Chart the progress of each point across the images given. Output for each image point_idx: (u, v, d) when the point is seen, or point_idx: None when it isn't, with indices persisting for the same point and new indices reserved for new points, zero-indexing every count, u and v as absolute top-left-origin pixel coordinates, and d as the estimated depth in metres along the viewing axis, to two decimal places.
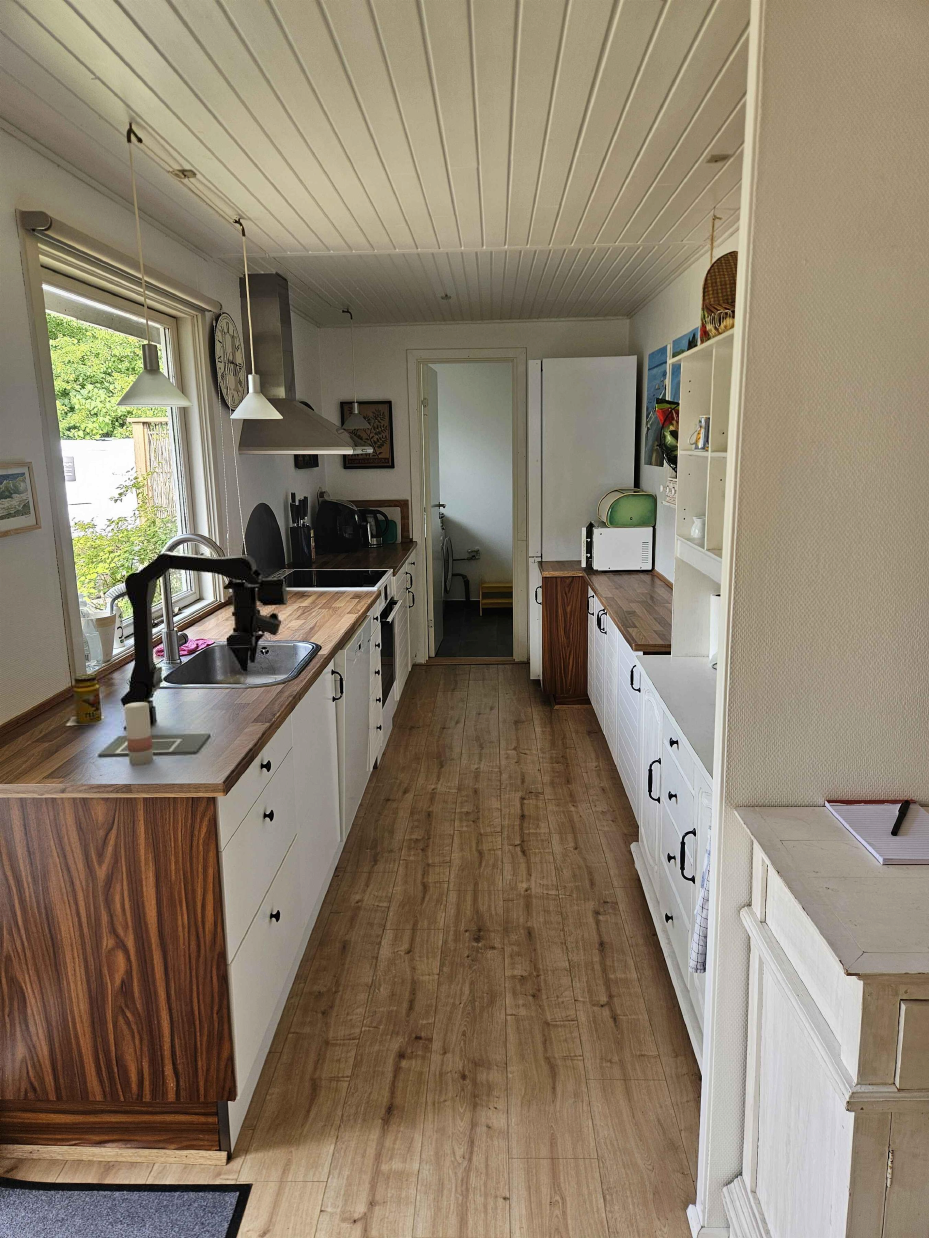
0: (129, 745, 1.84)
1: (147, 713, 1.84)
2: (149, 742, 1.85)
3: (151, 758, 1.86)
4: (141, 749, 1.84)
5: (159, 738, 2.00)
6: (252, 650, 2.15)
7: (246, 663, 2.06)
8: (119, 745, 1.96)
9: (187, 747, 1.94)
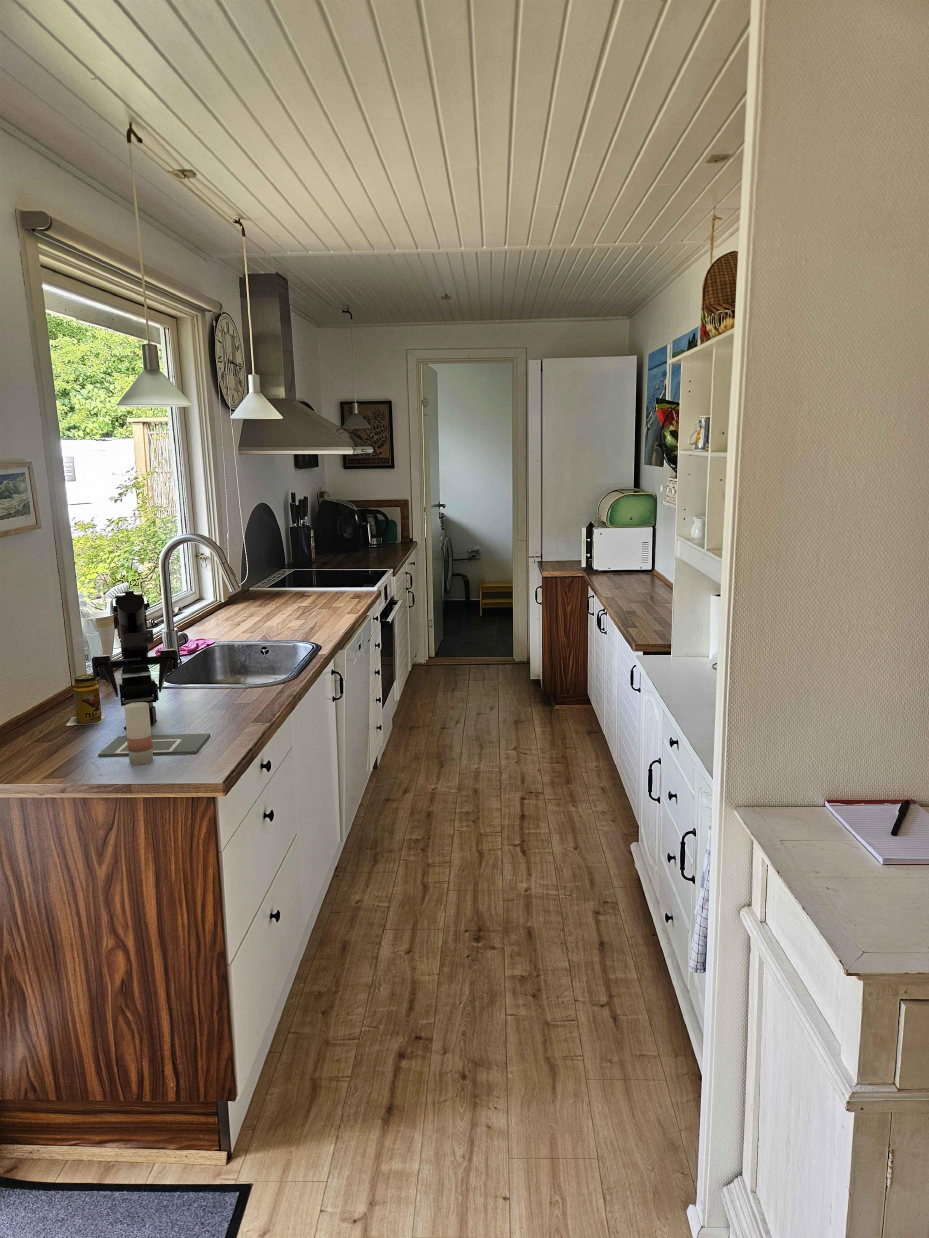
0: (129, 745, 1.84)
1: (147, 713, 1.84)
2: (149, 742, 1.85)
3: (151, 758, 1.86)
4: (141, 749, 1.84)
5: (159, 738, 2.00)
6: None
7: (113, 687, 1.90)
8: (119, 745, 1.96)
9: (187, 747, 1.94)
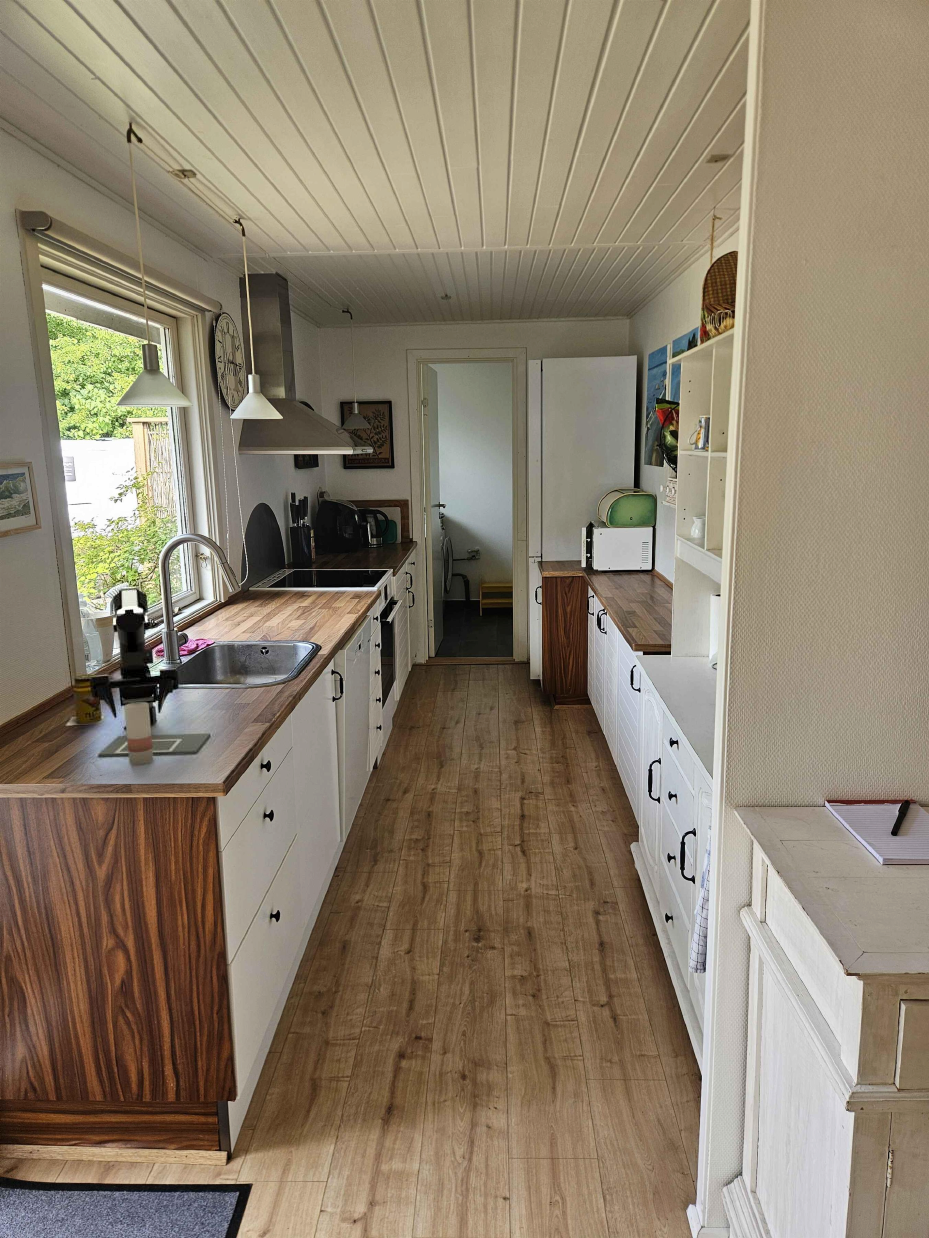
0: (129, 745, 1.84)
1: (147, 713, 1.84)
2: (149, 742, 1.85)
3: (151, 758, 1.86)
4: (141, 749, 1.84)
5: (159, 738, 2.00)
6: (158, 699, 1.91)
7: (111, 708, 1.86)
8: (119, 745, 1.96)
9: (187, 747, 1.94)
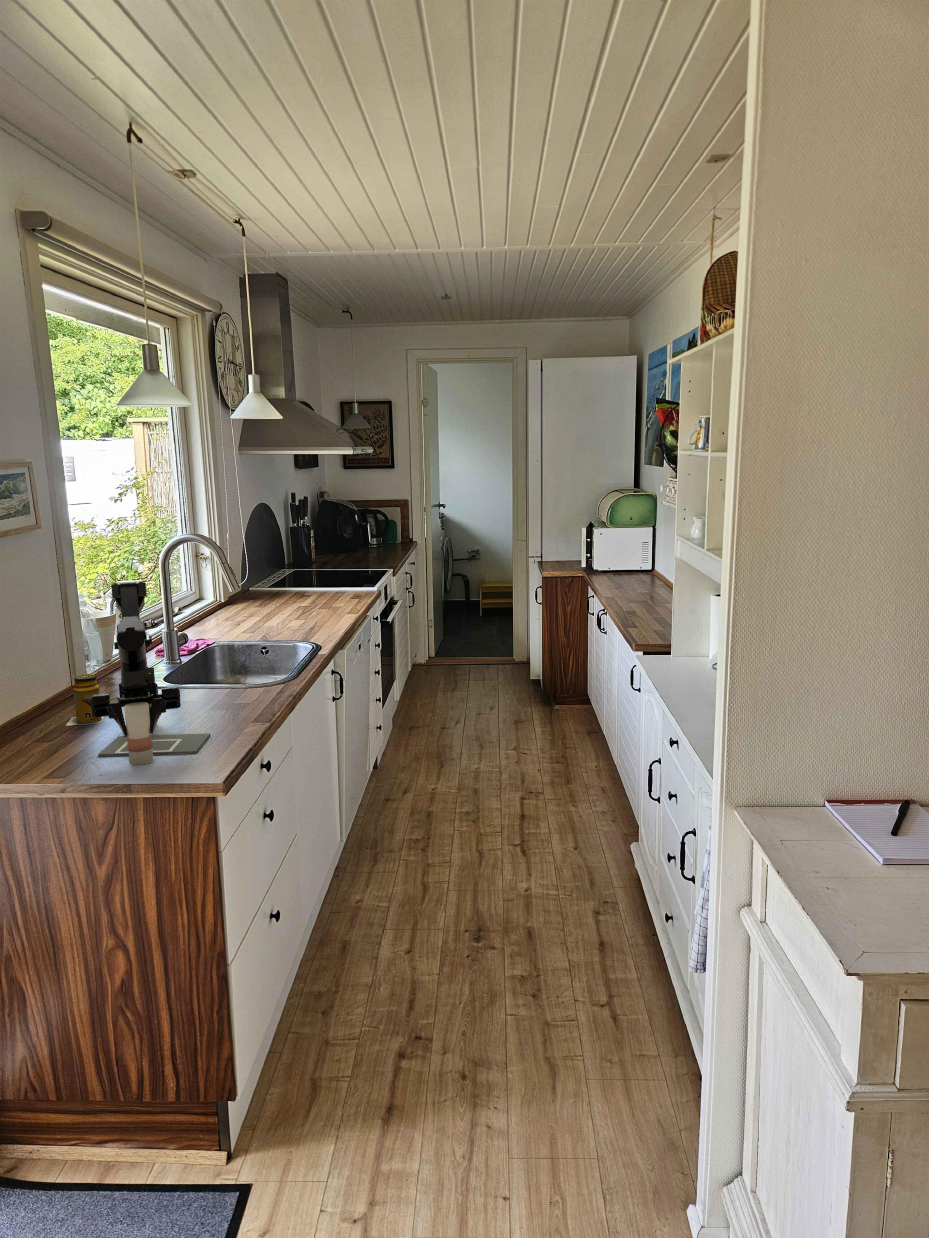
0: (129, 745, 1.84)
1: (147, 713, 1.84)
2: (149, 742, 1.85)
3: (151, 758, 1.86)
4: (141, 749, 1.84)
5: (159, 738, 2.00)
6: (150, 720, 1.87)
7: (122, 727, 1.84)
8: (119, 745, 1.96)
9: (187, 747, 1.94)
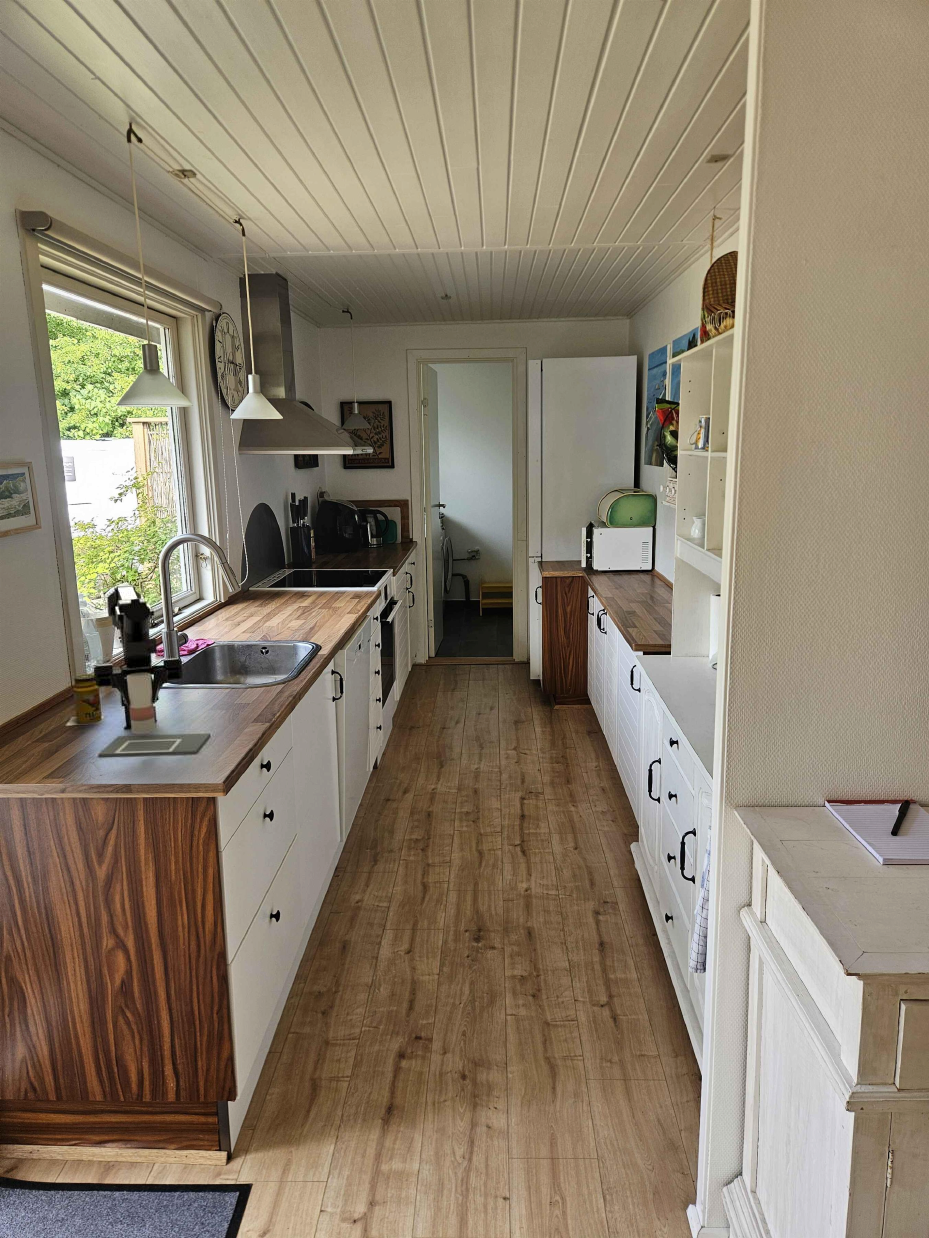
0: (131, 714, 1.88)
1: (149, 683, 1.88)
2: (151, 711, 1.89)
3: (153, 727, 1.90)
4: (143, 718, 1.88)
5: (159, 738, 2.00)
6: (152, 690, 1.91)
7: (125, 696, 1.88)
8: (119, 745, 1.96)
9: (187, 747, 1.94)
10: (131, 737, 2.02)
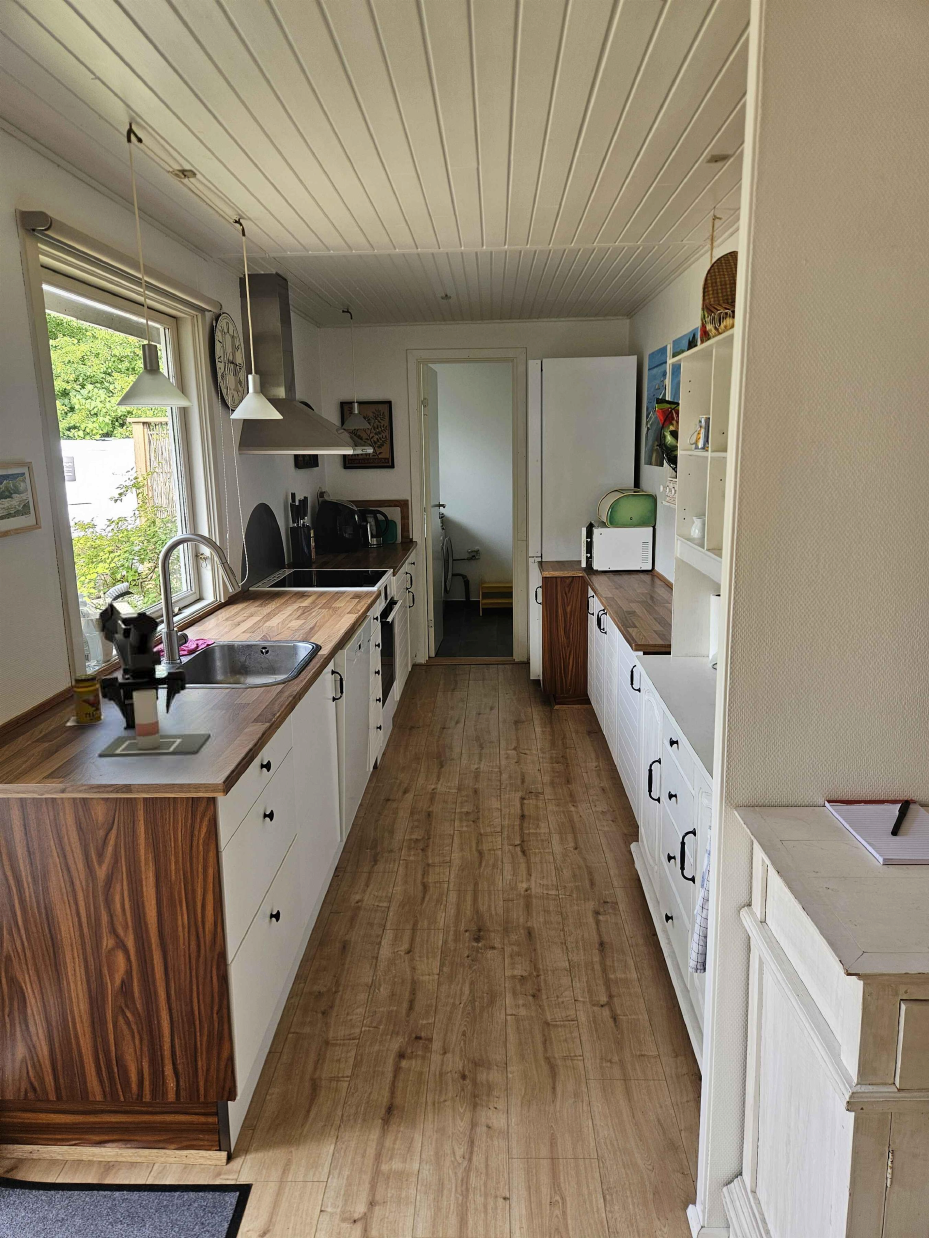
0: (137, 730, 1.92)
1: (154, 699, 1.93)
2: (156, 727, 1.94)
3: (158, 743, 1.94)
4: (149, 733, 1.92)
5: None
6: (166, 700, 1.95)
7: (121, 709, 1.91)
8: (119, 745, 1.96)
9: (187, 747, 1.94)
10: (131, 737, 2.02)
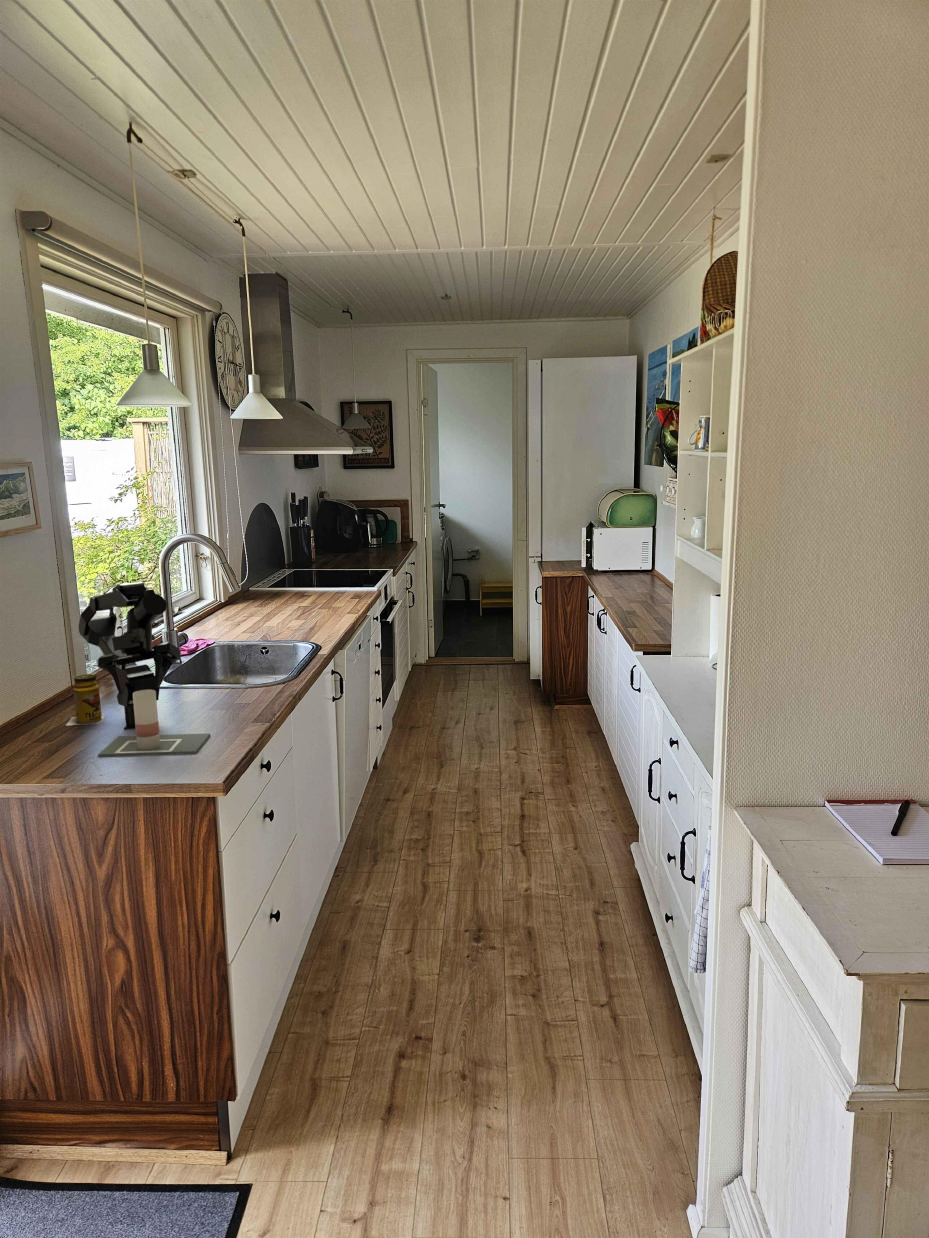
0: (137, 730, 1.92)
1: (154, 700, 1.93)
2: (156, 728, 1.93)
3: (158, 743, 1.94)
4: (149, 734, 1.92)
5: None
6: None
7: None
8: (119, 745, 1.96)
9: (187, 747, 1.94)
10: (131, 737, 2.02)
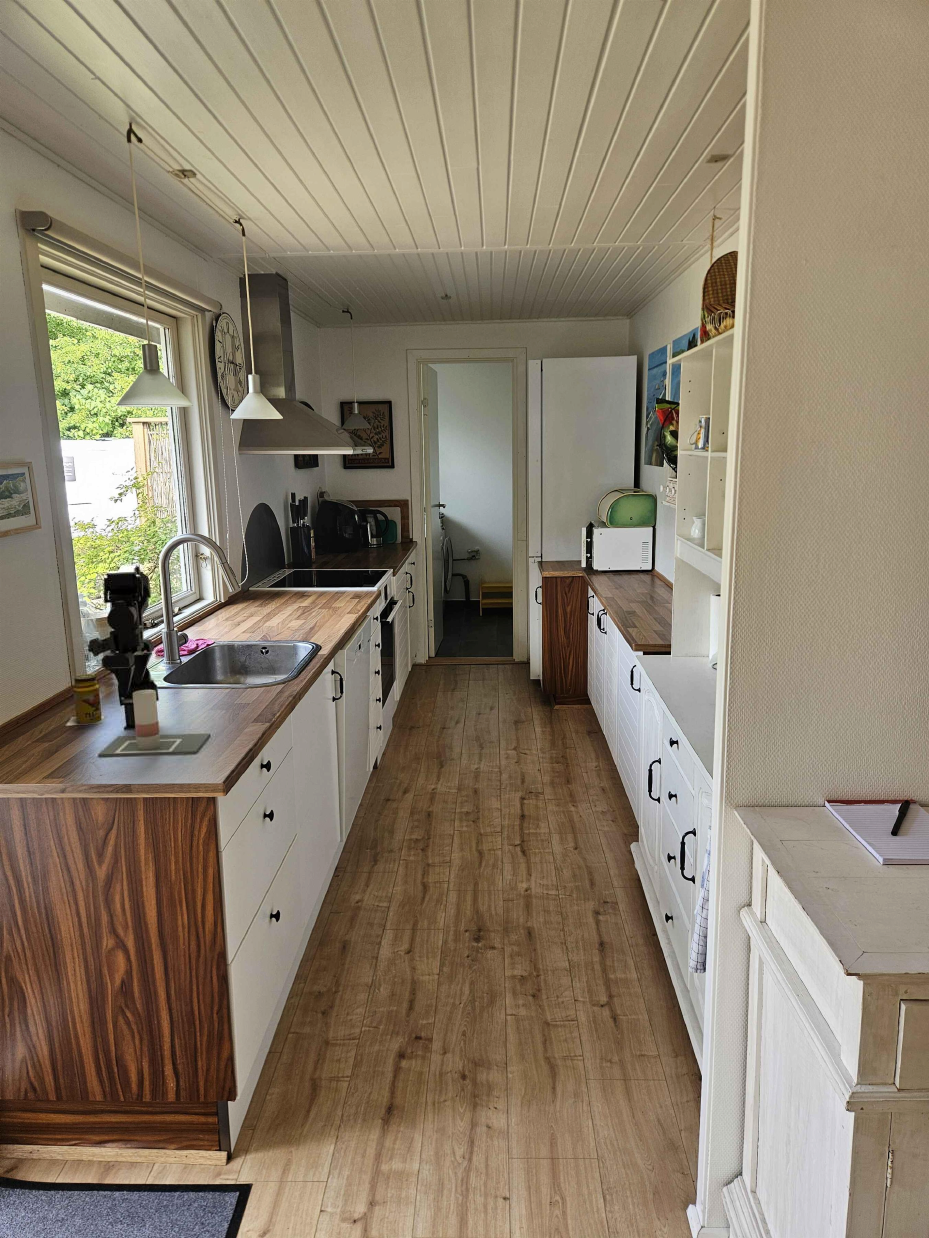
0: (137, 730, 1.92)
1: (154, 700, 1.93)
2: (156, 728, 1.93)
3: (158, 743, 1.94)
4: (149, 734, 1.92)
5: None
6: None
7: None
8: (119, 745, 1.96)
9: (187, 747, 1.94)
10: (131, 737, 2.02)
